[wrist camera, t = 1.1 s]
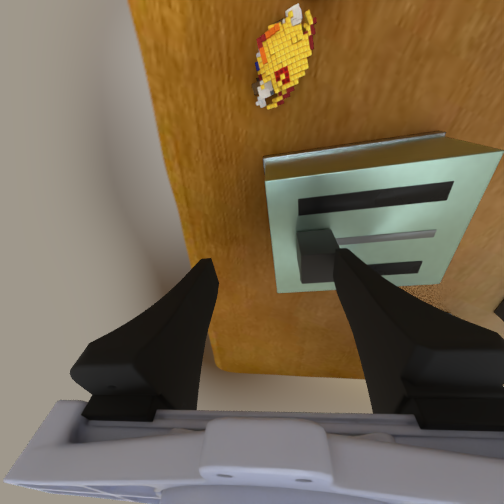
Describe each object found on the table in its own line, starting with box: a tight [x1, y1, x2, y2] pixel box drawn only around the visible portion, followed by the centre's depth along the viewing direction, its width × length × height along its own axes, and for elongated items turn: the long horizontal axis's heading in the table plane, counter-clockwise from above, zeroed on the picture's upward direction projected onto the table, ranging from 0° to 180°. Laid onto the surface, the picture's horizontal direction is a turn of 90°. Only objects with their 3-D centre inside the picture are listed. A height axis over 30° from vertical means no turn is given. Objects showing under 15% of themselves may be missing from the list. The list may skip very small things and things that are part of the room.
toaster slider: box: [296, 229, 340, 284], centre depth 15 cm, size 2×2×3 cm
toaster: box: [263, 131, 504, 293], centre depth 18 cm, size 10×13×6 cm
